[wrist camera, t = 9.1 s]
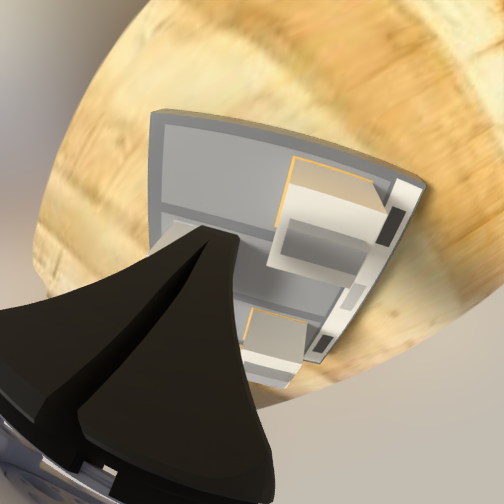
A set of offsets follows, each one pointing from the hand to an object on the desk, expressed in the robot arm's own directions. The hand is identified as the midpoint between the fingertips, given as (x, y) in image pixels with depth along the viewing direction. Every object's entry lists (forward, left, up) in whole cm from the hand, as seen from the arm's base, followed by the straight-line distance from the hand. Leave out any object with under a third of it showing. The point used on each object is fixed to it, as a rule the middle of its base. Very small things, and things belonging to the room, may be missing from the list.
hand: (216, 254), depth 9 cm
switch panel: (-5, -1, -8) cm, 9 cm away
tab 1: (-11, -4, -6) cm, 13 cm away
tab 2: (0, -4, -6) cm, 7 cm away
